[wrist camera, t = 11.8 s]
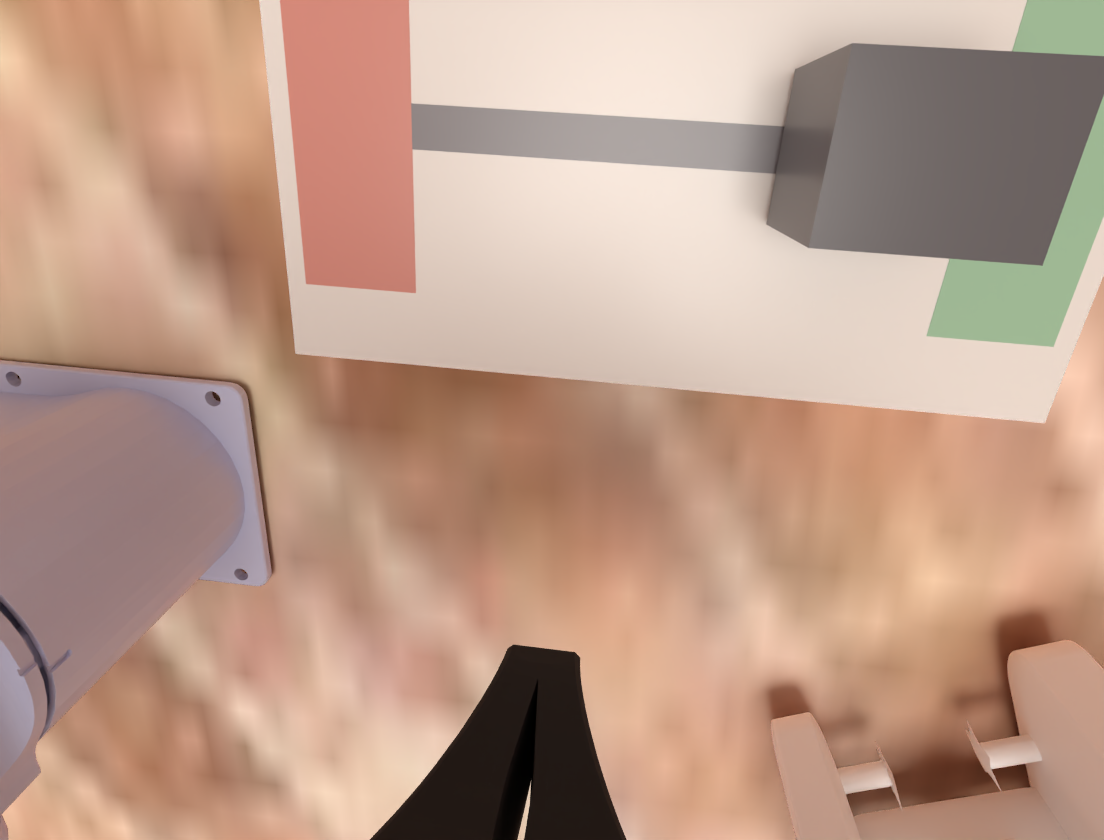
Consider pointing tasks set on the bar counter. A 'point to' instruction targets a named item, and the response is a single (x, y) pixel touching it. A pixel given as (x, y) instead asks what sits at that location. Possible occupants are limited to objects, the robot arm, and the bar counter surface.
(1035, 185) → the knob
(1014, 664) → the cable organizer
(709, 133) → the switch plate
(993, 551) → the bar counter surface
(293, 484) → the bar counter surface
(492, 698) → the robot arm
